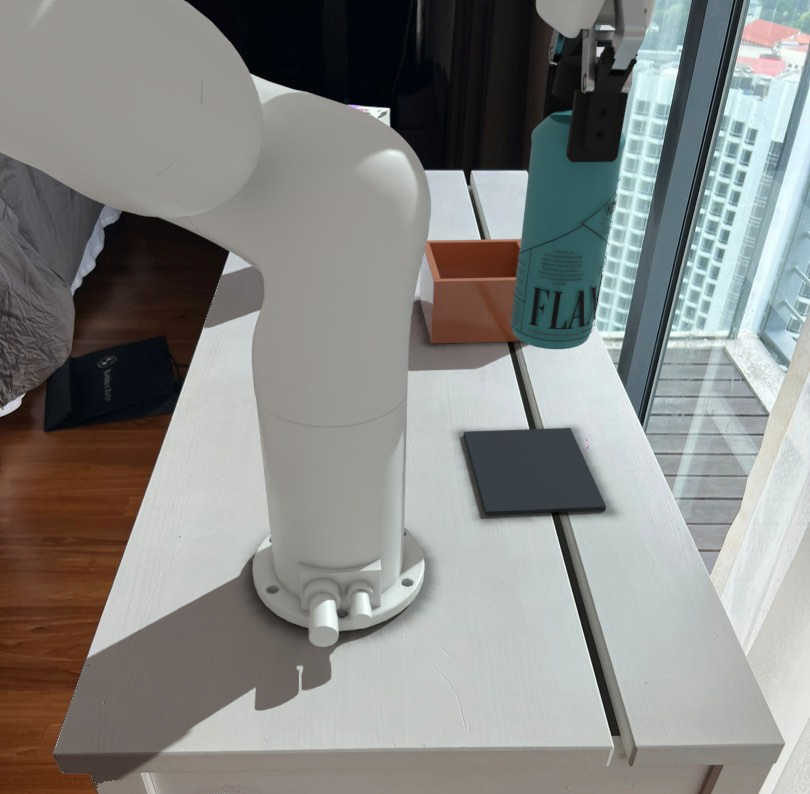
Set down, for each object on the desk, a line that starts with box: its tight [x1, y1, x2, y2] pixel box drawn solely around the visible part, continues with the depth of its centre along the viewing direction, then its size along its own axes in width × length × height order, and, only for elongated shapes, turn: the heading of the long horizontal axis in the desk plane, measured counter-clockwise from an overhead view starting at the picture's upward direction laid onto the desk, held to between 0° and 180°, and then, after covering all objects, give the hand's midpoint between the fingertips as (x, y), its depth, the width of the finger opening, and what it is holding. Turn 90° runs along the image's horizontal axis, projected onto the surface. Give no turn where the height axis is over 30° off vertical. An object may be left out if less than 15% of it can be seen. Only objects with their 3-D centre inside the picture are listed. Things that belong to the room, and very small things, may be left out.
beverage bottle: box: [510, 56, 626, 350], centre depth 59 cm, size 6×7×20 cm
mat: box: [463, 427, 607, 516], centre depth 73 cm, size 12×10×1 cm
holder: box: [419, 238, 522, 345], centre depth 94 cm, size 12×12×7 cm
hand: (576, 142), depth 56 cm, fingers closed on beverage bottle, 6 cm apart
